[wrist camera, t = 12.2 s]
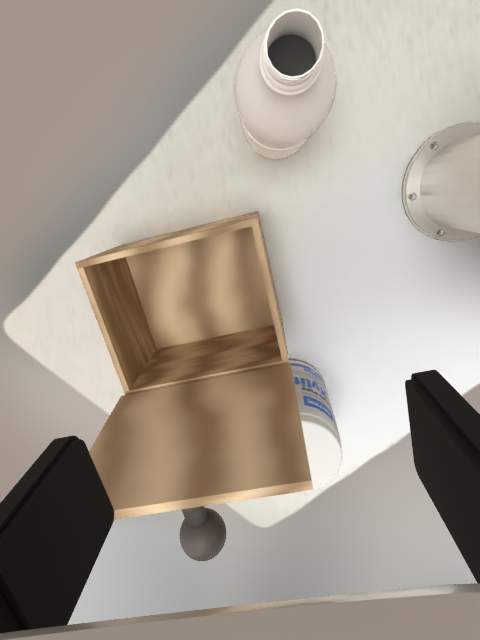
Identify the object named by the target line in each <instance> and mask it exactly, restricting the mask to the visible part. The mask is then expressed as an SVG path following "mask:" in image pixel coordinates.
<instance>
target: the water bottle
mask: <svg viewBox="0 0 480 640" xmlns="http://www.w3.org/2000/svg"><path fill="white" fill-rule="evenodd" d="M335 91H336V71H335V65H334V61H333V58H332V55H331V53H330V51H329V49H328V47H327V46H326V44H325V43H324V33H323V30H322V28H321V25H320V23H319V21H318V20H317V19H316V18H315V17H314V16H313V15H312V14H311V13H310V12H308V11H305V10H301V9H298V8H297V9H292V10H287V11H285V12H283V13H282V14H280V15H279V16H278V17H276V18H275V20H274V21H273V22H272V23H271V25H270V27H269V29H268V30H266V31H264V32H263V33H261V34H260V35H258V36H257V37H256V38H255V39H254V40H253V41H252V42H251V43H250V45H249V46H248V47H247V49H246V50H245V52H244V53H243V55H242V57H241V59H240V61H239V64H238V67H237V71H236V75H235V83H234V94H235V102H236V106H237V110H238V112H239V116H240V120H241V123H242V126H243V130H244V134H245V137H246V139H247V141H248V143H249V144H250V146H251V147H252V148H253V149H254V150H255V151H256V152H257V153H258V154H260V155H262V156H264V157H267V158H270V159H281V158H285V157H288V156H290V155H292V154H293V153H295V152H296V151H297V150H299V149H300V148H301V146H302V145H303V144H304V142H305V141H306V140H307V139H308V138H309V137H310V136H311V134H312V133H313V132H314V131H315V130H316V129H318V128H319V126H320V125H321V124H322V123H323V121H324V120H325V118H326V117H327V115H328V113H329V111H330V109H331V106H332V103H333V100H334V97H335Z"/></svg>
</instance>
